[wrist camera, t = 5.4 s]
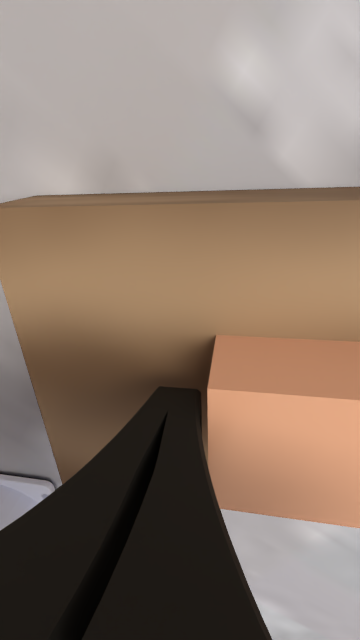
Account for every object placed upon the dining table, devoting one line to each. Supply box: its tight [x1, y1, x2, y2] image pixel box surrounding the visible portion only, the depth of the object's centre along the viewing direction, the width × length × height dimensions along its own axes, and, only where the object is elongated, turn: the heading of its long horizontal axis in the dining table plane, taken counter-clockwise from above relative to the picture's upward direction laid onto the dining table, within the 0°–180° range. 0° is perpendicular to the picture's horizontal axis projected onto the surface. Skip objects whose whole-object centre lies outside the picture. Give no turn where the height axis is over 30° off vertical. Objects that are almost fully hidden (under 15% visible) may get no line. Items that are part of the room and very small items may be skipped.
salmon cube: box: [207, 335, 360, 528], centre depth 10 cm, size 4×4×3 cm
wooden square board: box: [0, 187, 360, 484], centre depth 13 cm, size 12×12×3 cm
